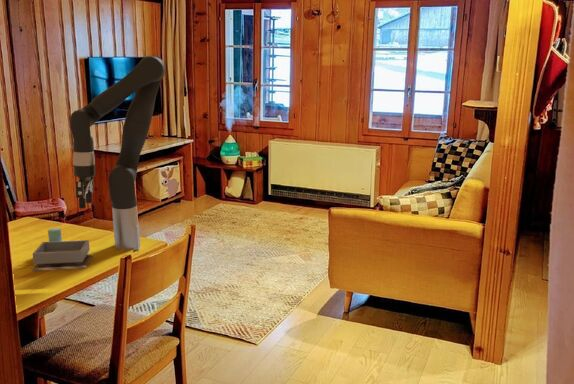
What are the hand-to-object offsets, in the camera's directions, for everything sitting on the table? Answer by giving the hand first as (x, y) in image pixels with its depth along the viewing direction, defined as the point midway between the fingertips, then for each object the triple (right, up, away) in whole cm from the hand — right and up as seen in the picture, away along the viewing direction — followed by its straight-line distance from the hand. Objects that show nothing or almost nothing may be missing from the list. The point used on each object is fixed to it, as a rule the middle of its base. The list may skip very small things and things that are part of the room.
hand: (85, 205), depth 199 cm
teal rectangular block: (-10, -19, -2) cm, 21 cm away
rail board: (-4, -21, -12) cm, 24 cm away
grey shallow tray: (-4, -20, -12) cm, 24 cm away
